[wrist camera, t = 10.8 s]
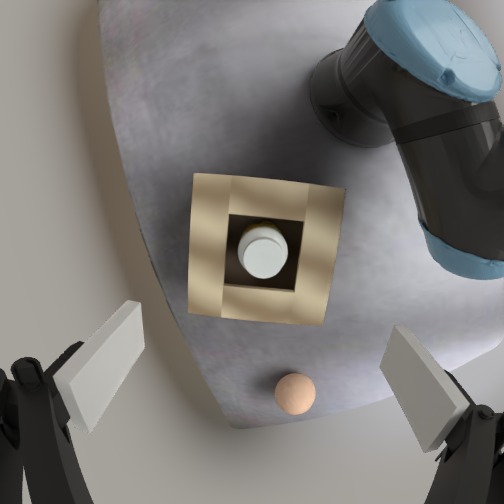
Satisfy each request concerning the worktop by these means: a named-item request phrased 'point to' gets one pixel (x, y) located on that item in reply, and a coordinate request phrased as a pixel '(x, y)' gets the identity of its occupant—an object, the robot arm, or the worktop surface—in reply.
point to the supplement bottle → (262, 249)
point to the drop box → (294, 232)
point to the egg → (295, 393)
